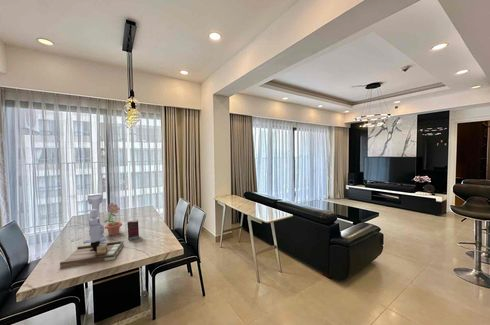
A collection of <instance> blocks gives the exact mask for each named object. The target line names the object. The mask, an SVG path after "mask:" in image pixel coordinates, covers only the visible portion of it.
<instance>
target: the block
mask: <svg viewBox="0 0 490 325" xmlns="http://www.w3.org/2000/svg"><path fill="white" fill-rule="evenodd" d="M105 243H106V244H99V246H98V247H97V254H98V253H105V252H106V251H107V243H108V242H105Z"/></svg>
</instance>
